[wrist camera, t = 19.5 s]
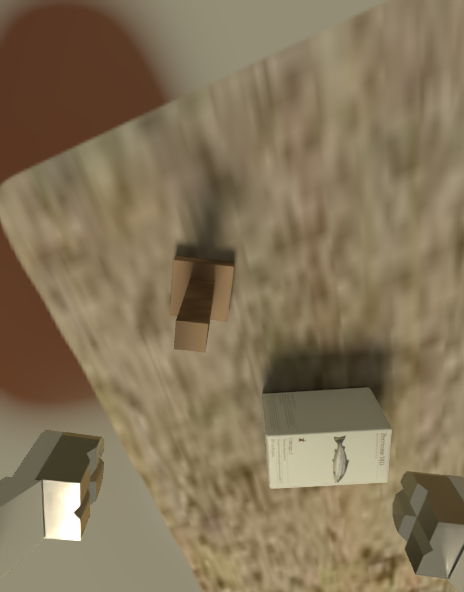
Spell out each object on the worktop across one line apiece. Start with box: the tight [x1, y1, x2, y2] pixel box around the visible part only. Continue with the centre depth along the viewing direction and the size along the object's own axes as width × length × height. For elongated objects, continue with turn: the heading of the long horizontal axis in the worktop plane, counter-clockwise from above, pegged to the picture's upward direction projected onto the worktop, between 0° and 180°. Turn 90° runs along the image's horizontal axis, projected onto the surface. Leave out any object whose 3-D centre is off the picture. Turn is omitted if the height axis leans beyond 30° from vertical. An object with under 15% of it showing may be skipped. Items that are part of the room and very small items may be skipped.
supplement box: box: [262, 387, 392, 488], centre depth 44 cm, size 7×7×13 cm
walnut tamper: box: [170, 256, 234, 352], centre depth 37 cm, size 6×6×12 cm
